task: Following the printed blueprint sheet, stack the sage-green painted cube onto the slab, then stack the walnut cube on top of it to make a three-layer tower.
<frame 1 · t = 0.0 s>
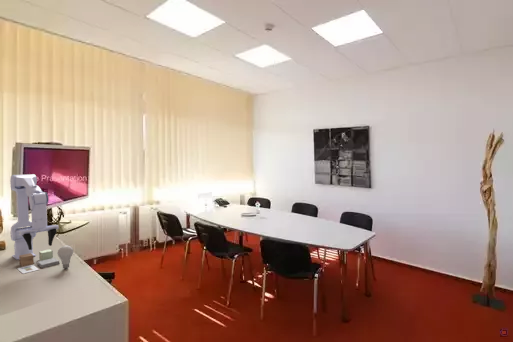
hand: (40, 247, 132), 10 cm above the table, fingers open, 7 cm apart
slab: (48, 264, 138), on the table
lightbulb: (66, 269, 132), on the table
block a: (46, 259, 145), on the table
blueprint sheet: (28, 269, 132), on the table
block b: (26, 264, 138), on the table
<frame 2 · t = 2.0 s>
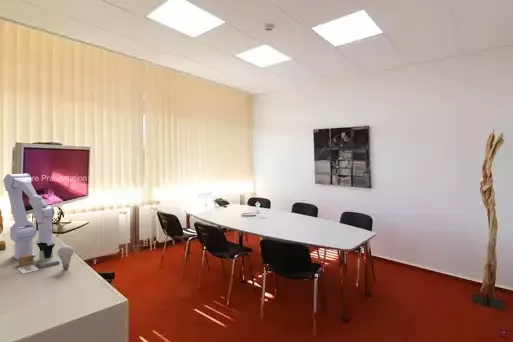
hand: (46, 256, 144), 1 cm above the table, fingers closed on block a, 4 cm apart
block a: (46, 259, 145), on the table, touching gripper
everything else where it was.
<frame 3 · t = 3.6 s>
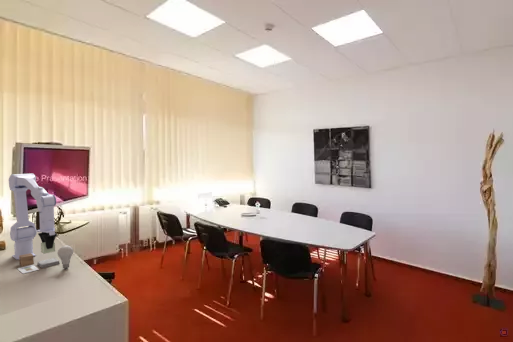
hand: (47, 247, 138), 8 cm above the table, fingers closed on block a, 4 cm apart
block a: (48, 251, 138), point 6 cm above the table, touching gripper
everything else where it was.
when the fingers open (4 cm above the table, at t = 5.0 s): block a stays where it is, resting on slab.
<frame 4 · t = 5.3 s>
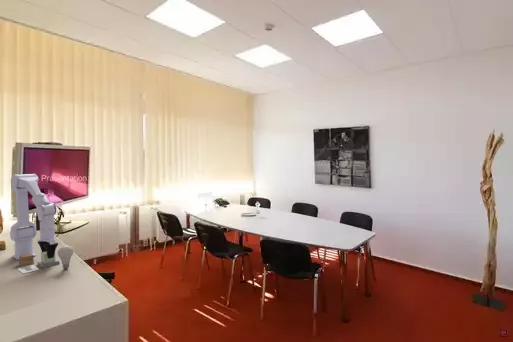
hand: (48, 256, 138), 4 cm above the table, fingers open, 7 cm apart
block a: (48, 261, 138), point 1 cm above the table, touching slab
everything else where it was.
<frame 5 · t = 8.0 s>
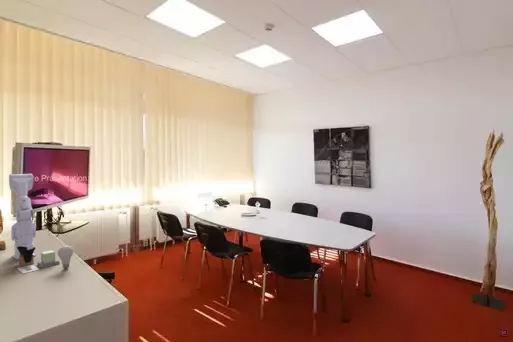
hand: (26, 261, 138), 1 cm above the table, fingers closed on block b, 4 cm apart
block b: (26, 264, 138), on the table, touching gripper
everything else where it was.
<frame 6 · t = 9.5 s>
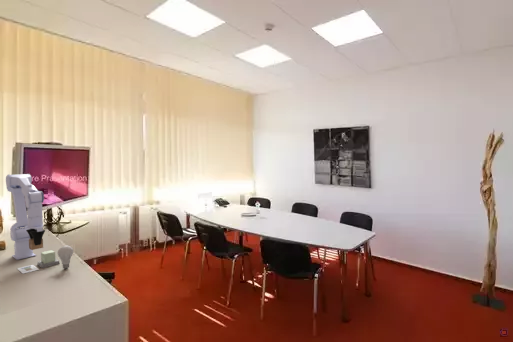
hand: (36, 244, 138), 10 cm above the table, fingers closed on block b, 4 cm apart
block b: (36, 248, 138), point 8 cm above the table, touching gripper
everything else where it was.
when the fingers open (8 cm above the table, at t = 10.8 s): block b stays where it is, resting on block a.
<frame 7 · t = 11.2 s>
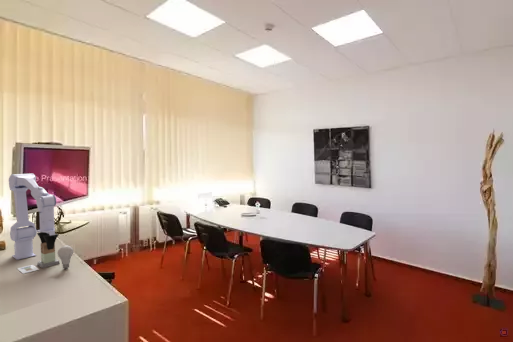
hand: (47, 247, 138), 8 cm above the table, fingers open, 7 cm apart
block a: (48, 261, 138), point 1 cm above the table, touching block b, slab
block b: (47, 252, 138), point 6 cm above the table, touching block a
everything else where it was.
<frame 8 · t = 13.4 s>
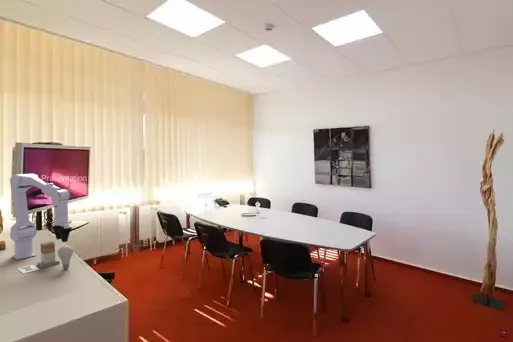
hand: (62, 240, 142), 10 cm above the table, fingers open, 7 cm apart
nothing on the table moved.
at the end: block a 0.0 cm off-centre on the slab, point 1.5 cm above the slab's base; block b 0.1 cm off-centre on the block a, point 4.5 cm above the block a's base; block b tilted 0° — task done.
